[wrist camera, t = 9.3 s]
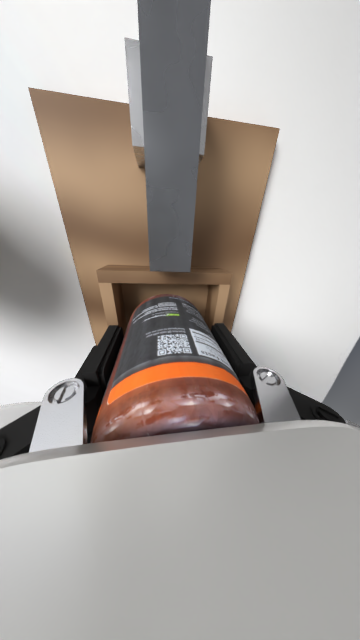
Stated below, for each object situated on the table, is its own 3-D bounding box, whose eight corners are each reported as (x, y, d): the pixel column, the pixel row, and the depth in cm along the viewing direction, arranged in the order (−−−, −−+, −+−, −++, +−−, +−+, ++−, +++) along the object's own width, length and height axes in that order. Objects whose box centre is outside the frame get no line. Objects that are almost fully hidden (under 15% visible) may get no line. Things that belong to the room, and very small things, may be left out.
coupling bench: (39, 100, 8) (-25, 25, 5) (271, 136, 10) (316, 94, 7) (113, 400, 20) (106, 427, 17) (213, 392, 22) (221, 415, 19)
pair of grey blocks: (132, 75, 8) (104, -100, 4) (271, 100, 9) (365, -16, 5) (152, 406, 21) (151, 446, 17) (208, 401, 22) (219, 438, 18)
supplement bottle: (156, 362, 15) (152, 624, 5) (114, 316, 12) (-123, 724, 2) (212, 333, 14) (350, 577, 4) (180, 275, 11) (381, 628, 1)
